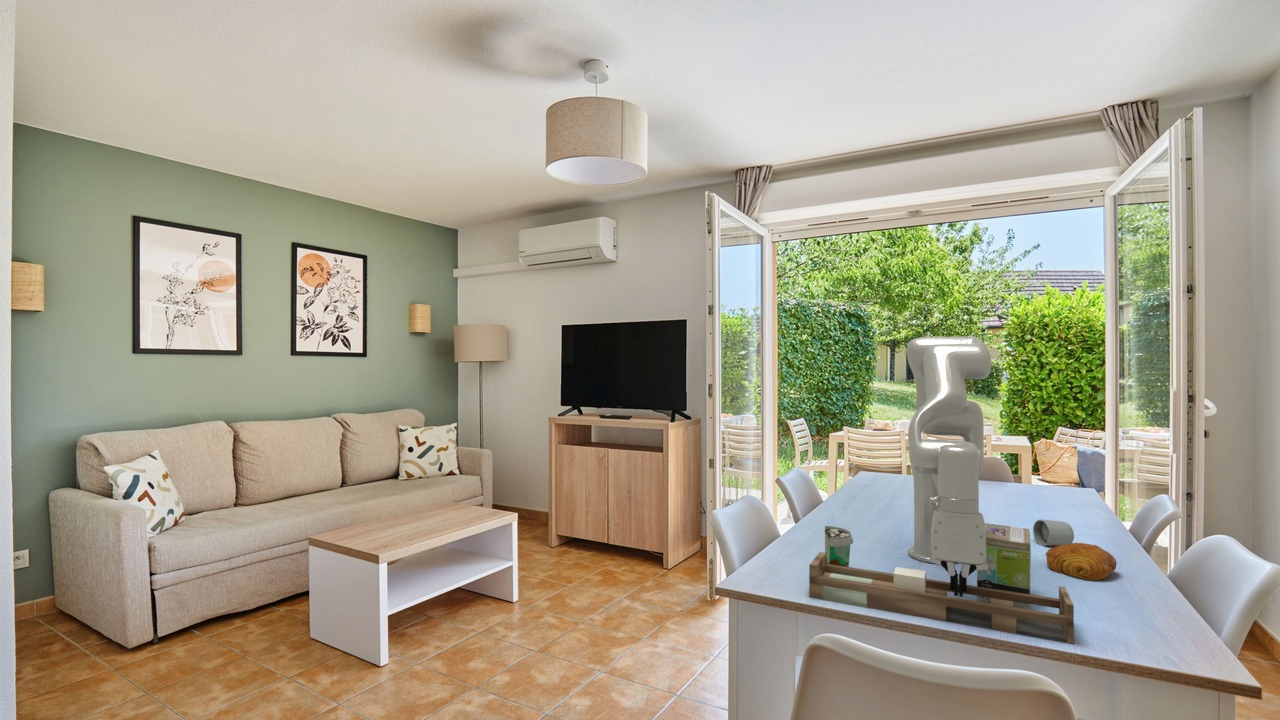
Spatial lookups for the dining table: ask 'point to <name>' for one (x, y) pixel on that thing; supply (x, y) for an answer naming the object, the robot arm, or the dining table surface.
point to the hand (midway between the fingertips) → (958, 594)
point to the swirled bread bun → (1081, 561)
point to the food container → (837, 546)
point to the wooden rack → (944, 601)
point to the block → (910, 579)
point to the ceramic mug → (1052, 533)
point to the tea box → (1006, 561)
